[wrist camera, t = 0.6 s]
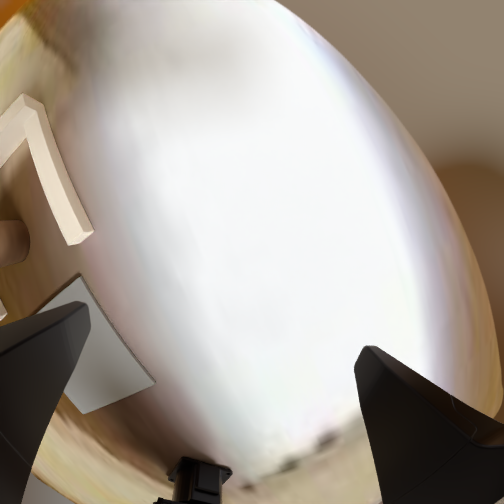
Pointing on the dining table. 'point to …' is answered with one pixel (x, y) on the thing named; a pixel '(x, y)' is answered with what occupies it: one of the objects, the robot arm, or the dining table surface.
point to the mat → (100, 358)
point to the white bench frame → (44, 166)
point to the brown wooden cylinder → (13, 242)
